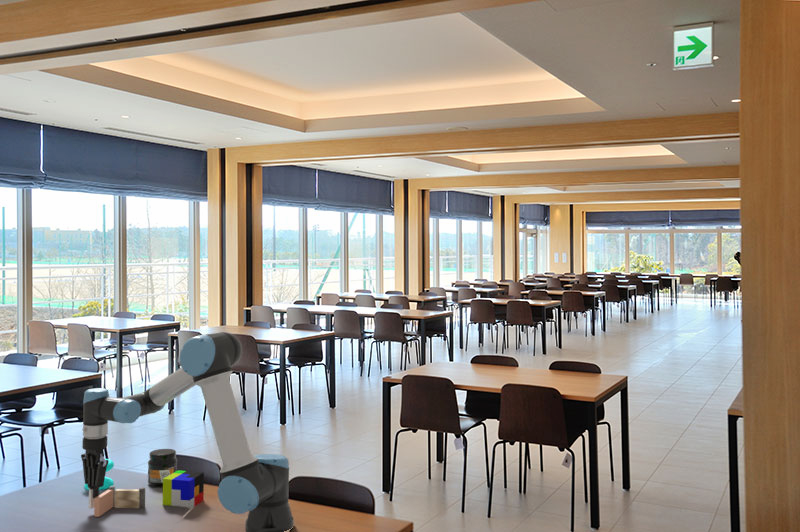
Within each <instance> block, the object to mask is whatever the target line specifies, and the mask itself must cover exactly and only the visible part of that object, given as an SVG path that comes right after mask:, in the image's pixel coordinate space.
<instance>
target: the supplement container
mask: <svg viewBox="0 0 800 532" xmlns="http://www.w3.org/2000/svg"><path fill="white" fill-rule="evenodd" d="M148 458H149V460H148V462H147V468H148V469H147V472H148V473H147V474H148V475H147V483H148V485H149V486H151V487H153V488H163V479H164V478H165V477H167V476H169V475H171V474H172V473H174V472H176V471H178V459H177V451H176V450H175V449H171V448H159V449H155V450H152V451H150V452H149V457H148Z"/></svg>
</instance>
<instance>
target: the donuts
mask: <svg viewBox="0 0 800 532" xmlns="http://www.w3.org/2000/svg"><path fill="white" fill-rule="evenodd" d="M104 459H105V460H108V461H109V463H108V465H107V468H106V473H107V472H109V471H111V470H112V469H113V468H114V465H115V464H114V462H115V461H113V460H112V459H109V458H104ZM110 486H115V485H114V480H113V479H112V478H111V477H107V476H105V479H104V485H103V487H99V491H100V490H101V491H103V490H108V489H109V487H110ZM83 487H84V489H85V490H87V491H89V487H88V484H85V483H84V486H83Z"/></svg>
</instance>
